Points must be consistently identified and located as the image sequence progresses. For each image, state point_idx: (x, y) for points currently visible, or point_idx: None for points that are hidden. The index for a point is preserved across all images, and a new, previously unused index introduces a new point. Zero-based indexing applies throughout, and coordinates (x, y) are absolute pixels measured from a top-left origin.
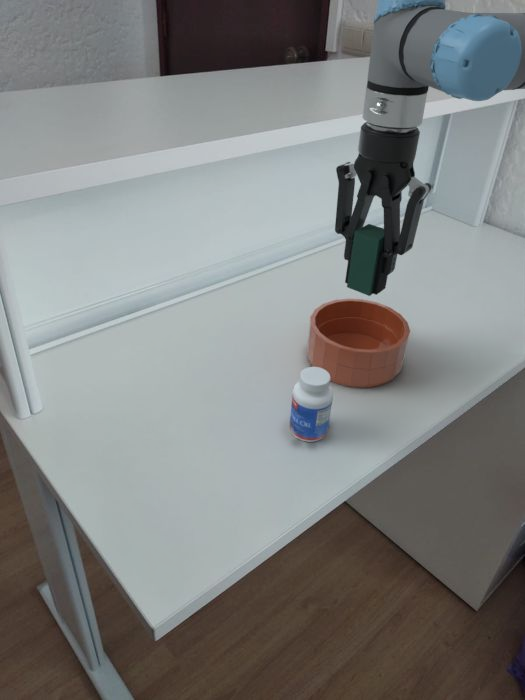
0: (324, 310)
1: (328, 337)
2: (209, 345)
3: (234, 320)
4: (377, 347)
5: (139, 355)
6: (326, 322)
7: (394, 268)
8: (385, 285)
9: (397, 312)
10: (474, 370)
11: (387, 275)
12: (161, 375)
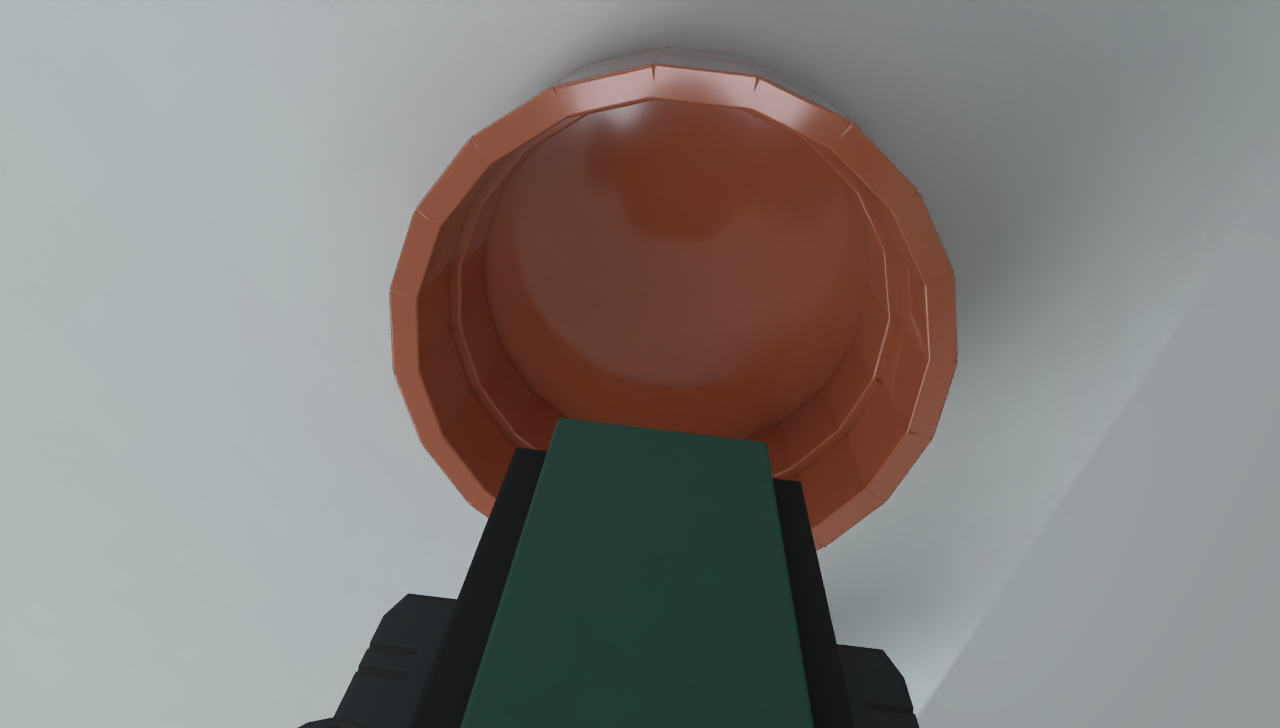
0: (426, 308)
1: (500, 226)
2: (174, 500)
3: (86, 312)
4: (741, 164)
5: (77, 641)
6: (462, 264)
7: (905, 690)
8: (803, 502)
9: (824, 112)
10: (1266, 12)
11: (816, 559)
12: (211, 676)
